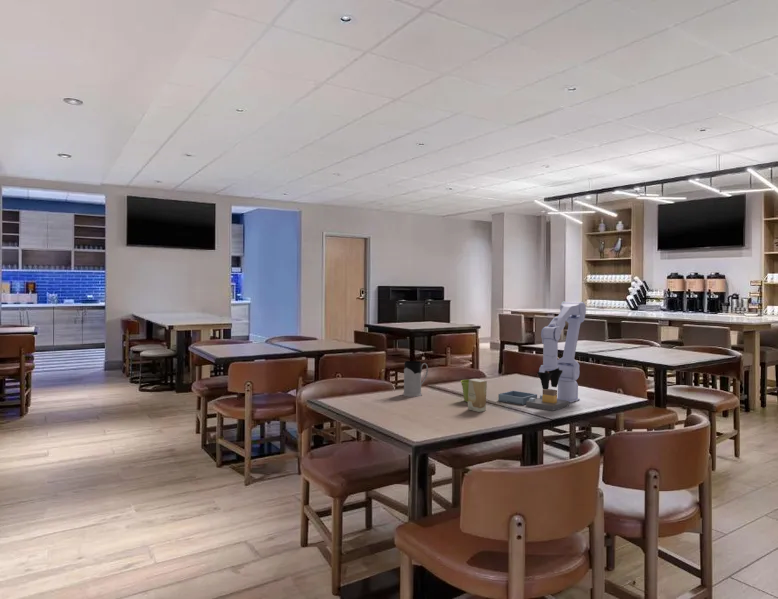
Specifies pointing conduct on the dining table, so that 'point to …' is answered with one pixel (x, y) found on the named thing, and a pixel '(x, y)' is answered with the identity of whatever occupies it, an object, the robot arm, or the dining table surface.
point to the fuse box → (546, 404)
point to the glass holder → (413, 378)
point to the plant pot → (465, 389)
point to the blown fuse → (549, 396)
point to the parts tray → (516, 397)
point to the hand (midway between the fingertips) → (549, 388)
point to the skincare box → (477, 395)
